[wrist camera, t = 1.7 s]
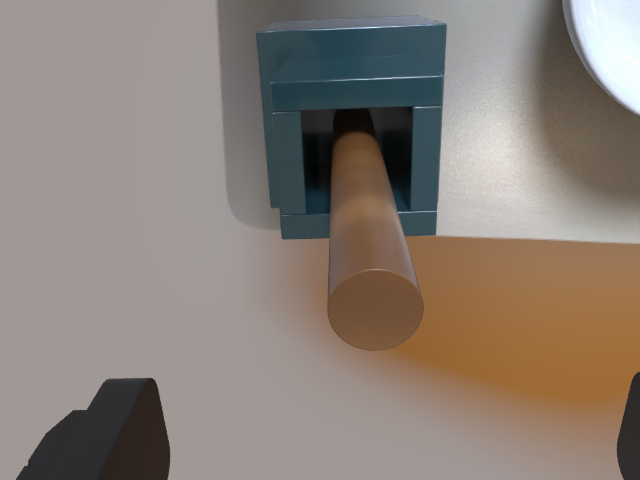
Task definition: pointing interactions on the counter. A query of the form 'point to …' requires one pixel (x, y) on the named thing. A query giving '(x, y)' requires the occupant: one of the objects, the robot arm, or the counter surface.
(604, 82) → the serving bowl
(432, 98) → the utensil holder
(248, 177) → the counter surface
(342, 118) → the stick
